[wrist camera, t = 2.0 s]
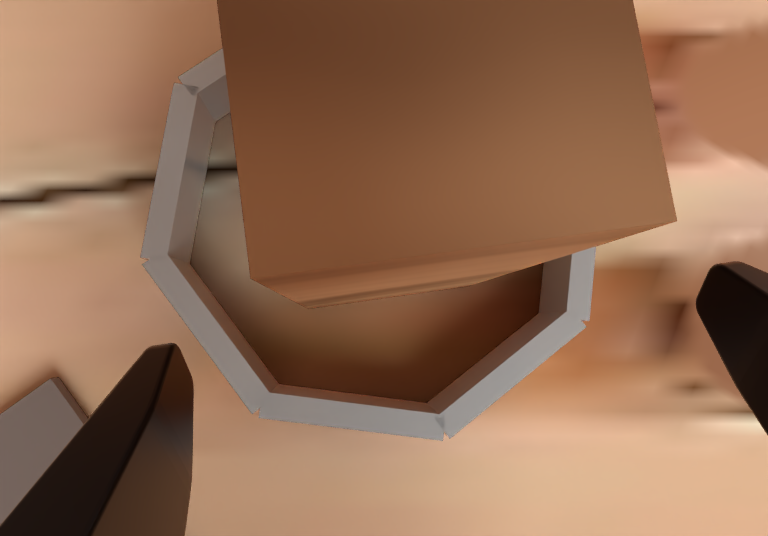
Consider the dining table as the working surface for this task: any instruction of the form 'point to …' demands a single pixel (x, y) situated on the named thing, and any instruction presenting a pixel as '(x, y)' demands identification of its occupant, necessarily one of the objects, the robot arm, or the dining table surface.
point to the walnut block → (436, 139)
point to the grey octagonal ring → (238, 359)
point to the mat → (34, 438)
